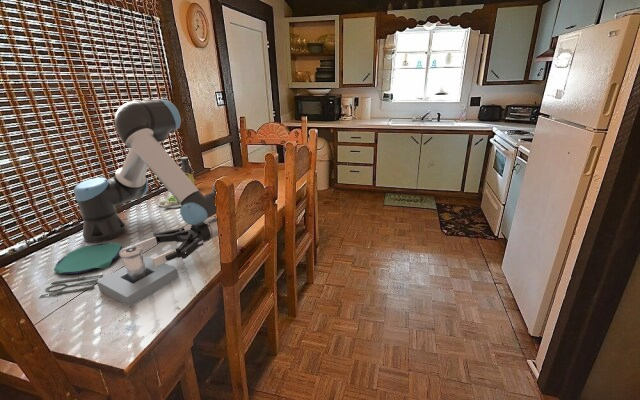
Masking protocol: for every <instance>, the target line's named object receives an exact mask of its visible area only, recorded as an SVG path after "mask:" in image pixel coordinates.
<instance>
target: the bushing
mask: <svg viewBox="0 0 640 400" xmlns="http://www.w3.org/2000/svg"><path fill="white" fill-rule="evenodd" d="M143 253H144V250H143V246H141V245H134V244H131V245H128V246H125V247H124V248H123V247H122V250H120V252H119V254H120V255H119V257H120V258H122V259H123V262H124V265H125V266H124V267H126V269H127V273H128V276H129V280H130V282H131V283H133V284H134V283H136V282H137V281H139V280H141V279H143V278H144V277H146V276H148V274H147V270H146V266H145V263H144V259H143V257H144V255H143Z"/></svg>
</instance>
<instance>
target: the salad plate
mask: <svg viewBox="0 0 640 400" xmlns="http://www.w3.org/2000/svg"><path fill="white" fill-rule="evenodd" d="M166 204H168V205H166ZM157 206H159V207H161V208H162V209H178V208H181V207H182V205H181V204H180V203H179V202H178V201H177V200H176V198H175V197H174V196H173V195H172V194H171V196H168V197H167V198H164V199H161V200H160V201H158V202H157Z"/></svg>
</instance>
